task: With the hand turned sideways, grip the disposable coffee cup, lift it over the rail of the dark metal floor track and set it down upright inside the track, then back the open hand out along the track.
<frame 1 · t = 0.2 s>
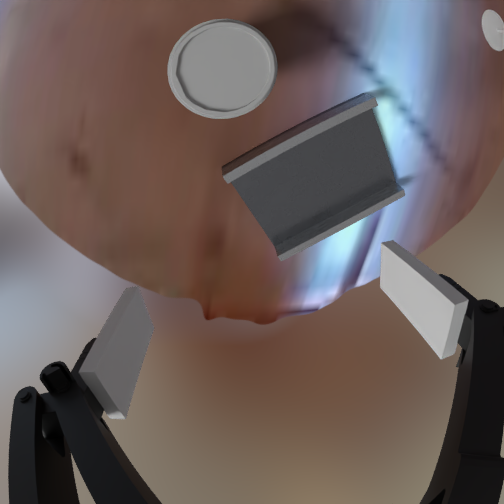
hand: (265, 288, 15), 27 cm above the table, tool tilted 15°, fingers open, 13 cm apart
disposable coffee cup: (219, 66, 30), on the table
wineglass: (494, 30, 25), on the table
floor track: (318, 174, 41), on the table
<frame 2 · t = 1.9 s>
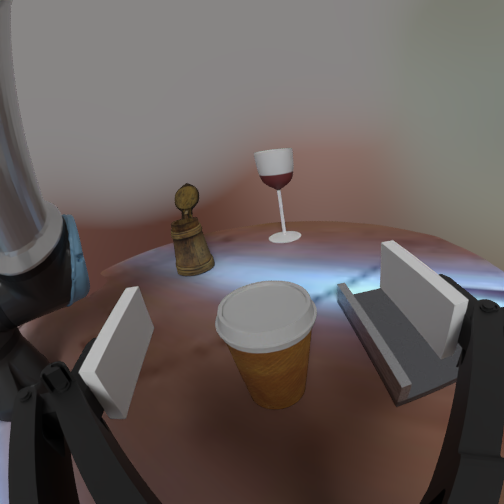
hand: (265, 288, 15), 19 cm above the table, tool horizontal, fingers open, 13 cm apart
disposable coffee cup: (278, 389, 32), on the table
wineglass: (285, 237, 76), on the table
floor track: (415, 329, 35), on the table
wooden mug: (197, 263, 70), on the table
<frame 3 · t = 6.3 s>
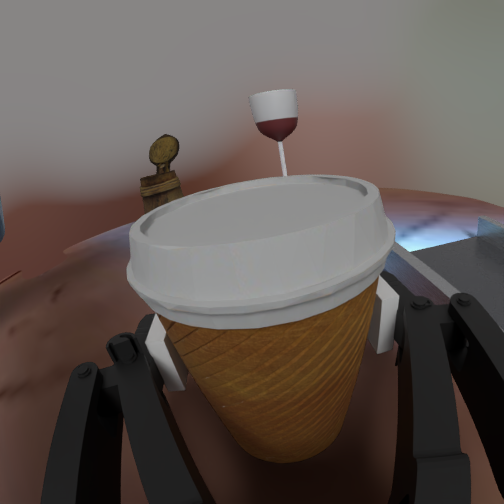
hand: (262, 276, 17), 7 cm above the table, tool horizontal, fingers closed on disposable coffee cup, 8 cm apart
disposable coffee cup: (287, 418, 15), on the table, touching gripper
wineglass: (288, 202, 60), on the table
floor track: (499, 299, 19), on the table
wooden mug: (176, 233, 53), on the table
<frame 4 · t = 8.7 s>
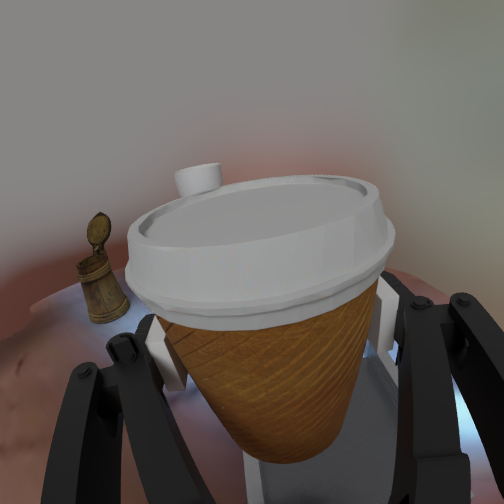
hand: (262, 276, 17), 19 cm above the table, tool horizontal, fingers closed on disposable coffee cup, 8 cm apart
disposable coffee cup: (287, 419, 15), point 12 cm above the table, touching gripper
wineglass: (218, 273, 63), on the table
floor track: (337, 452, 22), on the table
wooden mug: (114, 306, 55), on the table
when the fingers open (9 cm above the table, at t = 11.2 s): disposable coffee cup drops 1 cm, resting on floor track.
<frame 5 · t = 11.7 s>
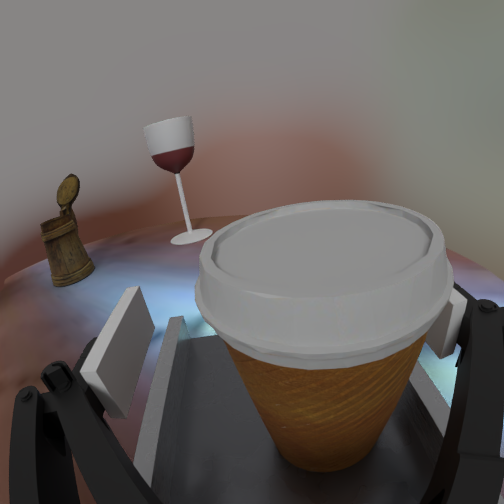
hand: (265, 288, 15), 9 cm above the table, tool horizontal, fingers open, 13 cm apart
disposable coffee cup: (327, 429, 15), point 1 cm above the table, touching floor track, gripper
wineglass: (191, 237, 57), on the table
floor track: (290, 436, 15), on the table
wooden mug: (80, 271, 50), on the table
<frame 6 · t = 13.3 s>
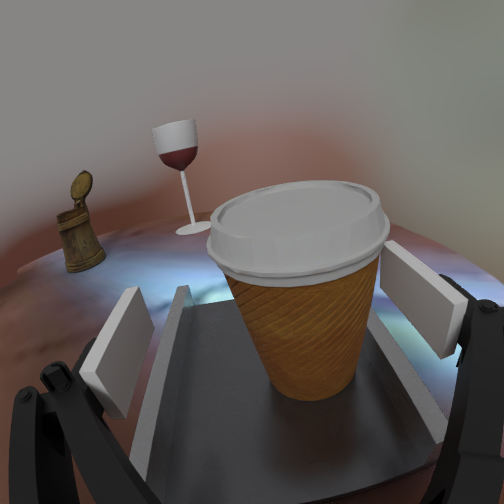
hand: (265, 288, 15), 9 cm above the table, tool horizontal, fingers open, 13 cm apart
disposable coffee cup: (312, 368, 20), point 1 cm above the table, touching floor track
wineglass: (194, 228, 62), on the table
floor track: (273, 375, 21), on the table
wooden mug: (91, 259, 56), on the table
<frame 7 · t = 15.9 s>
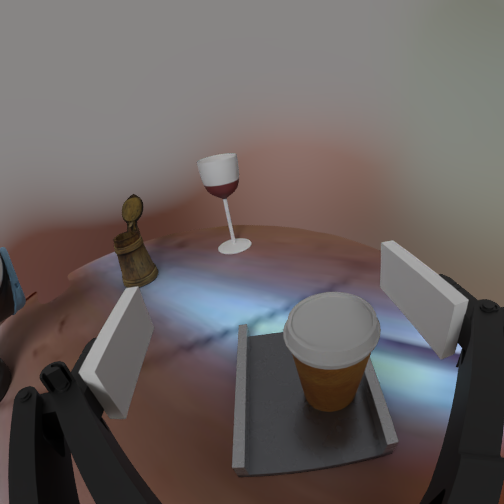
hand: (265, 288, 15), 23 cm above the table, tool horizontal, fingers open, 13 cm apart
disposable coffee cup: (330, 391, 32), point 1 cm above the table, touching floor track
wineglass: (234, 246, 74), on the table
floor track: (306, 392, 34), on the table
wooden mug: (144, 273, 69), on the table
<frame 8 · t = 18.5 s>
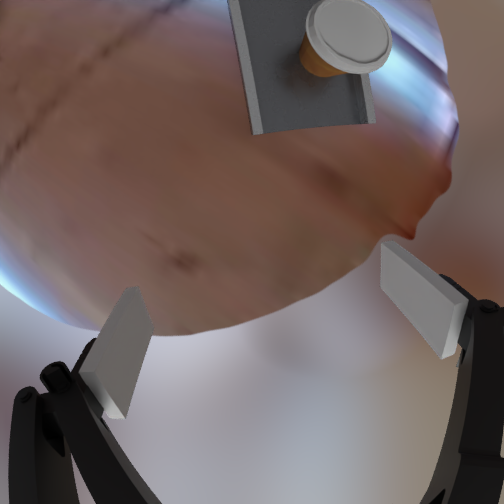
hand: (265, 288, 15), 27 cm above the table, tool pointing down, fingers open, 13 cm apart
disposable coffee cup: (321, 56, 33), point 1 cm above the table, touching floor track
floor track: (298, 52, 33), on the table
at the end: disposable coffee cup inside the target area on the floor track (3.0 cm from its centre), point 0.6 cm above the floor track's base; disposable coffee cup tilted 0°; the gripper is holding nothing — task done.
